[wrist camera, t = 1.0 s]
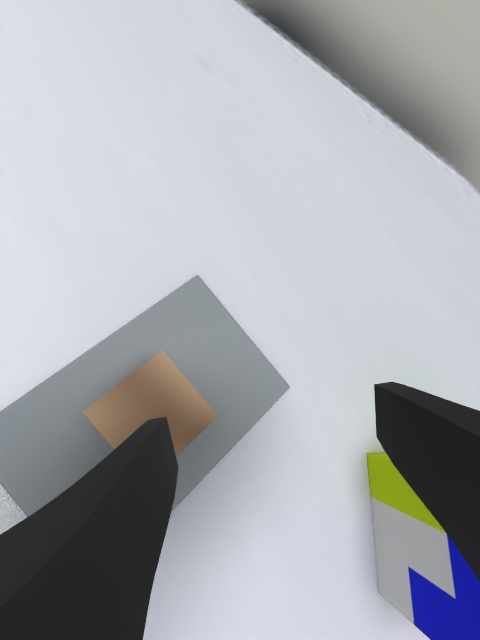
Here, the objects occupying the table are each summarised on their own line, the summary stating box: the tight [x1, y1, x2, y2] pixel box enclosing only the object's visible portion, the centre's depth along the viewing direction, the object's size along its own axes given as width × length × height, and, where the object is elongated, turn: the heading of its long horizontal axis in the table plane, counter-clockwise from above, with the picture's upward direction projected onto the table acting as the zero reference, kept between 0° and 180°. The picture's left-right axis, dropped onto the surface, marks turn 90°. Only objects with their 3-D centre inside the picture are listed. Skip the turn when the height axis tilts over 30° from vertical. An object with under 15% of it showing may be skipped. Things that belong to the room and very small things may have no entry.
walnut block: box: [83, 350, 218, 457], centre depth 18 cm, size 5×5×5 cm
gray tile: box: [0, 275, 290, 517], centre depth 20 cm, size 18×12×1 cm, turn 132°
